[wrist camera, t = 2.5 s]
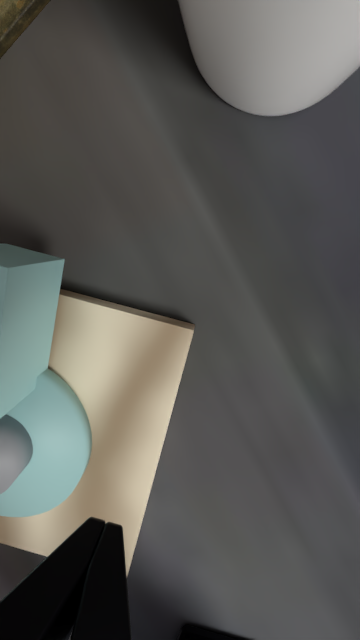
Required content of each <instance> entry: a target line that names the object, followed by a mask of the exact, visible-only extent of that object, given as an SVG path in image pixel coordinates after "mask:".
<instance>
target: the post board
mask: <svg viewBox="0 0 360 640" xmlns="http://www.w3.org/2000/svg"><path fill="white" fill-rule="evenodd" d="M194 327H195V325H194V324H191V323H187V322H183V321H179V320H176V319H172V318H168V317H164V316H161V315H157V314H153V313H149V312H146V311H142V310H138V309H134V308H131V307H127V306H123V305H119V304H116V303H112V302H108V301H104V300H101V299H97V298H93V297H89V296H86V295H82V294H78V293H74V292H71V291H67V290H63V289H60V293H59V299H58V305H57V312H56V318H55V325H54V331H53V337H52V344H51V350H50V357H49V363H48V369H50V370H51V371H53V372H54V373H55V374H57V375H58V376H59V377H60V378H62V379H63V380H64V381H65V382H66V383H67V384H68V385H69V386H70V388H71V389H72V390H73V391H74V393H75V394H76V395H77V397H78V398H79V400H80V402H81V403H82V405H83V407H84V409H85V411H86V414H87V416H88V419H89V423H90V427H91V433H92V449H91V456H90V459H89V463H88V465H87V467H86V469H85V471H84V473H83V475H82V477H81V479H80V481H79V482H78V484H77V486H76V487H75V489H74V490H73V492H72V493H71V494H70V495H69V496H68V498H67V499H66V500H65V501H63V502H62V503H61V504H59V505H58V506H56V507H55V508H53V509H51V510H49V511H47V512H44V513H41V514H38V515H34V516H28V517H6V516H0V543H2V544H6V545H9V546H12V547H16V548H19V549H23V550H26V551H29V552H33V553H36V554H40V555H43V556H46V557H48V556H49V555H50V554H51V553H52V552H53V551H54V550H55V549H56V548H57V547H58V546H59V545H60V544H61V543H62V542H63V541H65V540H66V539H67V538H68V537H69V536H70V535H71V534H72V533H73V532H74V531H75V530H76V529H77V528H78V527H79V526H80V525H82V524H83V523H84V522H85V521H86V520H87V519H88V518H89V517H96V518H99V519H102V520H104V521H105V522H106V523H107V522H113V523H116V524H120V525H121V526H122V527H123V537H124V550H125V562H126V575H127V576H128V572H129V568H130V565H131V561H132V557H133V554H134V550H135V546H136V542H137V539H138V535H139V531H140V528H141V524H142V520H143V517H144V513H145V509H146V505H147V502H148V498H149V494H150V491H151V487H152V483H153V480H154V476H155V472H156V469H157V465H158V461H159V457H160V454H161V450H162V446H163V443H164V439H165V435H166V432H167V428H168V424H169V420H170V417H171V413H172V409H173V406H174V402H175V398H176V395H177V391H178V387H179V384H180V380H181V376H182V372H183V369H184V365H185V361H186V358H187V354H188V350H189V347H190V343H191V339H192V335H193V332H194Z"/></svg>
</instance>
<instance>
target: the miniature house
mask: <svg viewBox="0 0 360 640" xmlns="http://www.w3.org/2000/svg"><path fill="white" fill-rule="evenodd" d="M49 1H50V0H0V58H1V57H2V56H3V55H4V54H5V53H6V51H7V50H8V49H9V48H10V47H11V46H12V44H13V43H14V42H15V41H16V40H17V39H18V37H19V36H20V35H21V34H22V33H23V32H24V30H25V29H26V28H27V27H28V26H29V25H30V24H31V22H32V21H33V20H34V19H35V18H36V17H37V15H38V14H39V13H40V12H41V11H42V10H43V8H44V7H45V6H46V5H47V4H48V3H49Z"/></svg>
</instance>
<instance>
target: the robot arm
mask: <svg viewBox="0 0 360 640" xmlns="http://www.w3.org/2000/svg"><path fill="white" fill-rule="evenodd" d="M72 630H73V631H72ZM71 632H72V636H71V640H132V638H131V625H130V613H129V600H128V588H127V575H126V562H125V550H124V537H123V527H122V526H121V525H120V524H116V523H113V522H107V523H106V522H105V521H104V520H102V519H99V518H96V517H89V518H88V519H87V520H86V521H85V522H84V523H83V524H82V525H80V526H79V527H78V528H77V529H76V530H75V531H74V532H73V533H72V534H71V535H70V536H69V537H68V538H67V539H66V540H65V541H63V542H62V543H61V544H60V545H59V546H58V547H57V548H56V549H55V550H54V551H53V552H52V553H51V554H50V555H49V556H48V557H47V558H45V559H44V560H43V561H42V562H41V563H40V564H39V565H38V566H37V567H36V568H35V569H34V570H33V571H32V572H31V573H30V574H28V575H27V576H26V577H25V578H24V579H23V580H22V581H21V582H20V583H19V584H18V585H17V586H16V587H15V588H14V589H13V590H12V591H10V592H9V593H8V594H7V595H6V596H5V597H4V598H3V599H2V600H1V601H0V640H68V639H69V637H70V635H71ZM177 640H237V639H233V638H230V637H227V636H223V635H220V634H217V633H213V632H210V631H206V630H203V629H200V628H196V627H193V626H190V625H184V626H182V628H181V630H180V633H179V636H178V638H177Z"/></svg>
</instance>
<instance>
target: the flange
mask: <svg viewBox="0 0 360 640" xmlns="http://www.w3.org/2000/svg"><path fill="white" fill-rule="evenodd" d="M64 261H65V259H63V258H59V257H55V256H51V255H48V254H44V253H40V252H36V251H32V250H29V249H25V248H21V247H17V246H13V245H10V244H0V516H6V517H28V516H34V515H38V514H41V513H44V512H47V511H49V510H51V509H53V508H55V507H56V506H58V505H59V504H61V503H62V502H63V501H65V500H66V499H67V498H68V496H69V495H70V494H71V493H72V492H73V490H74V489H75V487H76V486H77V484H78V482H79V481H80V479H81V477H82V475H83V473H84V471H85V469H86V467H87V465H88V463H89V459H90V456H91V449H92V433H91V427H90V423H89V419H88V416H87V414H86V411H85V409H84V407H83V405H82V403H81V402H80V400H79V398H78V397H77V395H76V394H75V393H74V391H73V390H72V389H71V388H70V386H69V385H68V384H67V383H66V382H65V381H64V380H63V379H62V378H60V377H59V376H58V375H57V374H55V373H54V372H53V371H51V370H50V369H48V363H49V357H50V350H51V344H52V337H53V331H54V325H55V318H56V312H57V305H58V299H59V293H60V286H61V280H62V273H63V267H64Z"/></svg>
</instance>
